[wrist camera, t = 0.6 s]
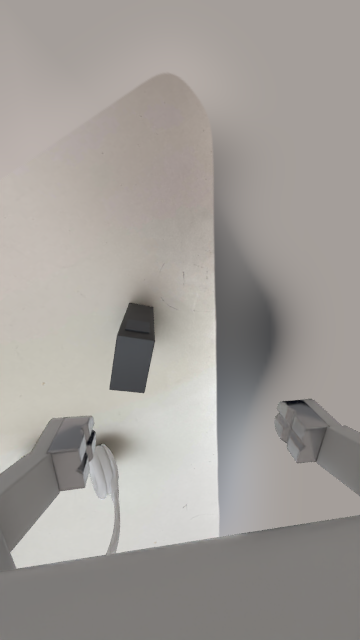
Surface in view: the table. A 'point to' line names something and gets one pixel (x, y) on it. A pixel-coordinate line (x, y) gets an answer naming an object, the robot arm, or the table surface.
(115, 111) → the table surface
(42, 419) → the table surface
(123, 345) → the device
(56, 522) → the table surface
